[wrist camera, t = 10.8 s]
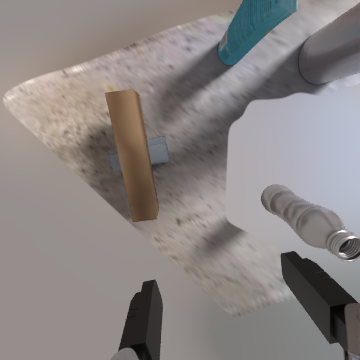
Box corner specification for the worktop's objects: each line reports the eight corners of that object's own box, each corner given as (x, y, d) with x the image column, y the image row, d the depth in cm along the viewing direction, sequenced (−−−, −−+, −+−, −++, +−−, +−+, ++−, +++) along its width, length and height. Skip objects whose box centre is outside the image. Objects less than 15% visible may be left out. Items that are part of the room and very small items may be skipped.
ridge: (164, 135, 38) (162, 137, 32) (170, 159, 40) (169, 165, 33) (118, 146, 39) (106, 150, 32) (125, 169, 40) (115, 177, 33)
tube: (246, 68, 36) (324, 2, 17) (221, 75, 36) (272, 17, 17) (239, 23, 34) (320, -106, 15) (213, 31, 34) (262, -88, 15)
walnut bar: (139, 94, 30) (133, 89, 25) (158, 207, 35) (156, 219, 31) (114, 98, 30) (104, 92, 25) (138, 210, 35) (132, 222, 31)
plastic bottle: (267, 213, 44) (341, 279, 25) (251, 193, 42) (316, 247, 23) (290, 197, 43) (385, 252, 24) (275, 175, 41) (363, 216, 22)
